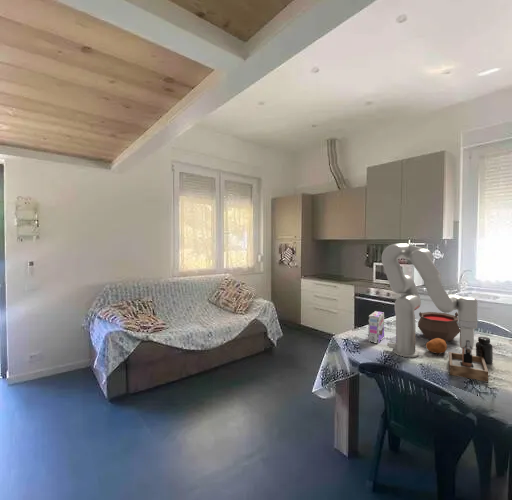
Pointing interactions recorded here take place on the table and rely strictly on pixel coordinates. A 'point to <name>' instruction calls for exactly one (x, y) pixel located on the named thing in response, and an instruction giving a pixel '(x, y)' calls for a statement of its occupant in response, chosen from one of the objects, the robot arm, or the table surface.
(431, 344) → the potato
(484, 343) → the supplement bottle
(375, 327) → the candy box
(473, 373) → the wooden rectangular frame
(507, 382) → the table surface
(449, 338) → the brown cooking pot
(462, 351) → the peg
